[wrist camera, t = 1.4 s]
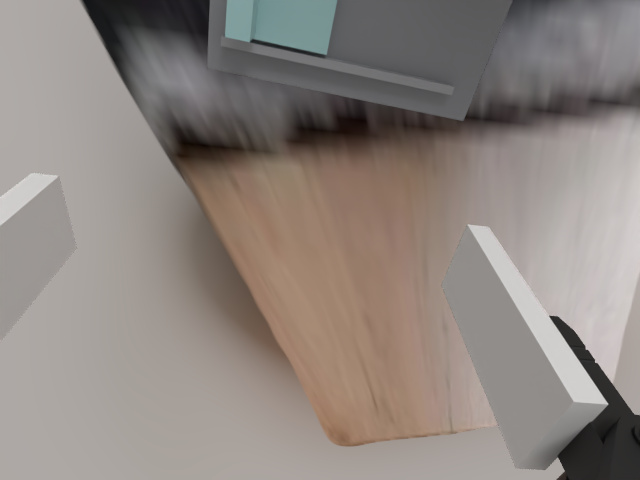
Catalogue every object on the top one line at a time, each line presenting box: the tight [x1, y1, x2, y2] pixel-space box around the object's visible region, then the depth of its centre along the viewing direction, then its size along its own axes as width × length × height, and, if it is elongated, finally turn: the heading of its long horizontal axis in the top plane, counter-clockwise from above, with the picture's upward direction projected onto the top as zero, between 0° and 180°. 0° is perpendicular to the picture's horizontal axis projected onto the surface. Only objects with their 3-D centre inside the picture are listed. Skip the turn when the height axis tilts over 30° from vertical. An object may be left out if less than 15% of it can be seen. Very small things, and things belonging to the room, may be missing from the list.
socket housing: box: [207, 0, 513, 121], centre depth 28 cm, size 12×20×5 cm, turn 78°
